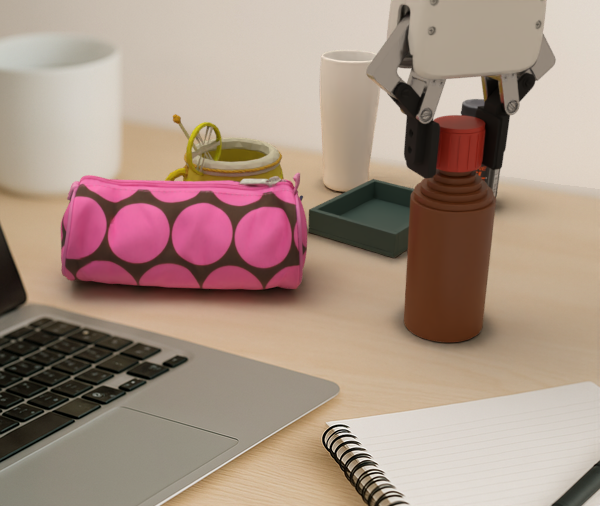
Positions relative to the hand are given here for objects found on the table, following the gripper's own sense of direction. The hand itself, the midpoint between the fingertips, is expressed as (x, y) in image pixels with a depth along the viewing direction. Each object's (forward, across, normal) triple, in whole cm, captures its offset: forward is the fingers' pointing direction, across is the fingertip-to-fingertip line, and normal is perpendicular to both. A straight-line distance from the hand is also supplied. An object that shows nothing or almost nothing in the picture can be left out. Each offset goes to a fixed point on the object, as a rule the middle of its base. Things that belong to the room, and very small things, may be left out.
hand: (453, 165), depth 61 cm
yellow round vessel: (+14, +9, -27) cm, 32 cm away
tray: (+14, -6, -21) cm, 26 cm away
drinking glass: (+14, -8, -34) cm, 37 cm away
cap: (0, -1, -1) cm, 1 cm away
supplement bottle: (+14, -18, -24) cm, 33 cm away
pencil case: (+14, +16, -16) cm, 27 cm away
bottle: (+14, -1, -1) cm, 14 cm away
